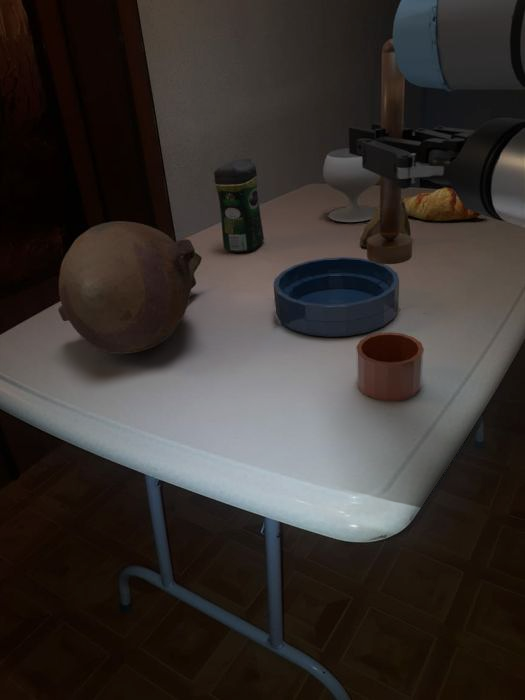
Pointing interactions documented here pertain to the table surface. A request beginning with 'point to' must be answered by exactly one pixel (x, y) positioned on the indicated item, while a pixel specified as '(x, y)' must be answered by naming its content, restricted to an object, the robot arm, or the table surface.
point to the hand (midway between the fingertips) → (363, 138)
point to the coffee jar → (239, 205)
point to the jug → (126, 285)
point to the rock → (374, 225)
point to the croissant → (438, 206)
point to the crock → (389, 366)
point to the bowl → (336, 296)
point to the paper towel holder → (389, 241)
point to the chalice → (349, 184)
